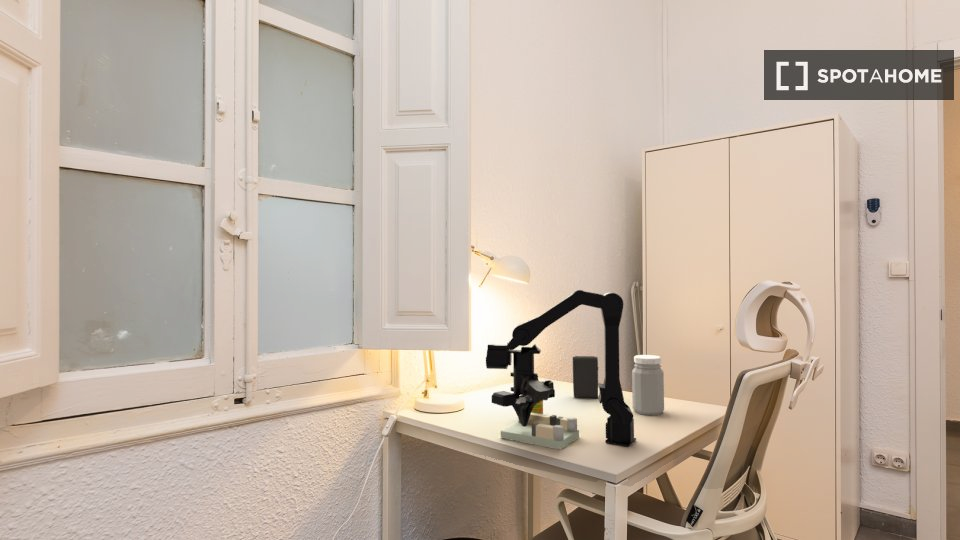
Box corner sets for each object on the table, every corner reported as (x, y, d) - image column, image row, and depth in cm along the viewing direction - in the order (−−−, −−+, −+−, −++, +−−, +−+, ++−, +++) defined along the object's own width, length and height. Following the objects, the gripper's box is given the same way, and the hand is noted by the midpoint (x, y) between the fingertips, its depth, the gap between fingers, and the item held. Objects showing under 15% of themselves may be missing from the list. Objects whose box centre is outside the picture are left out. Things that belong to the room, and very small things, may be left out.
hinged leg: (516, 422, 146) (516, 411, 146) (521, 420, 148) (521, 409, 149) (552, 428, 140) (552, 417, 140) (557, 426, 142) (557, 414, 142)
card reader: (598, 396, 186) (597, 355, 187) (599, 398, 182) (598, 357, 183) (573, 395, 188) (572, 355, 188) (573, 398, 184) (572, 357, 184)
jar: (662, 409, 167) (661, 354, 167) (666, 416, 158) (664, 359, 158) (632, 407, 170) (631, 354, 170) (633, 415, 160) (632, 358, 160)
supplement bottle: (529, 417, 159) (529, 386, 159) (523, 413, 164) (523, 383, 164) (545, 416, 160) (545, 385, 160) (539, 412, 165) (538, 382, 165)
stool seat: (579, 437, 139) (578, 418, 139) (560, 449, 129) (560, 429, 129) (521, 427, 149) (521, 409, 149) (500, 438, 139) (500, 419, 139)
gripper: (516, 378, 127) (517, 440, 127) (568, 369, 138) (569, 426, 138) (490, 371, 136) (490, 429, 136) (540, 364, 147) (541, 418, 147)
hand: (524, 426), depth 139 cm, fingers closed
